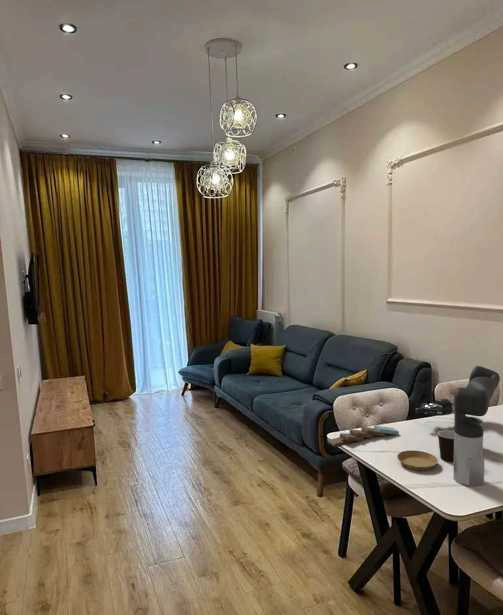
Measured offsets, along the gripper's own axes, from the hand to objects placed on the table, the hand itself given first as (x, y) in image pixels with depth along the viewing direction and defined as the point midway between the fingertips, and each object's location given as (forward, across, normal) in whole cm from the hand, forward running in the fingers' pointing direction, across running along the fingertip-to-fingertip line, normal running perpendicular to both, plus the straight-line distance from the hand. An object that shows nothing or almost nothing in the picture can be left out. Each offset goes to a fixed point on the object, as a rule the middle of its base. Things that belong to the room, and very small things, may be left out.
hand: (416, 411), depth 209 cm
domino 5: (+12, 0, -8) cm, 14 cm away
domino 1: (+35, 0, -8) cm, 36 cm away
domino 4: (+18, 0, -8) cm, 20 cm away
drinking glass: (-7, -25, -9) cm, 28 cm away
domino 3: (+24, 0, -8) cm, 26 cm away
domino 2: (+30, -1, -8) cm, 31 cm away
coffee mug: (+6, -31, -9) cm, 33 cm away
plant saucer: (+23, -30, -9) cm, 39 cm away
